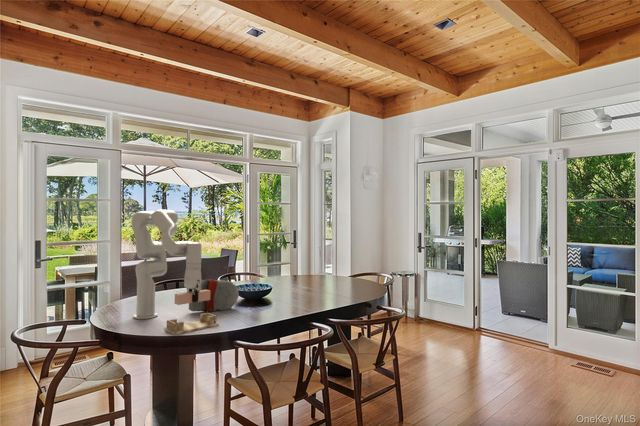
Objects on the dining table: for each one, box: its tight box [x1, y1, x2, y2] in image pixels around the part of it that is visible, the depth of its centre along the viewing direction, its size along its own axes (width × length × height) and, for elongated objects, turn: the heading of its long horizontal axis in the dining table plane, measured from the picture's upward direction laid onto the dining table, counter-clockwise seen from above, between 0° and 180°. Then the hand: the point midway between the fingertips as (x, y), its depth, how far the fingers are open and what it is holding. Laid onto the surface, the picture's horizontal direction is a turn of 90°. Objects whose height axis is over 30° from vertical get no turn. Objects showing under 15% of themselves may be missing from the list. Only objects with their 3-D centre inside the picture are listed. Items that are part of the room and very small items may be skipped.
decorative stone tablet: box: [188, 278, 240, 313], centre depth 241 cm, size 19×6×30 cm
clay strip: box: [174, 290, 210, 306], centre depth 204 cm, size 18×4×5 cm, turn 137°
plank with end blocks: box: [164, 312, 220, 336], centre depth 204 cm, size 24×12×5 cm, turn 137°
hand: (192, 300), depth 204 cm, fingers closed on clay strip, 4 cm apart
